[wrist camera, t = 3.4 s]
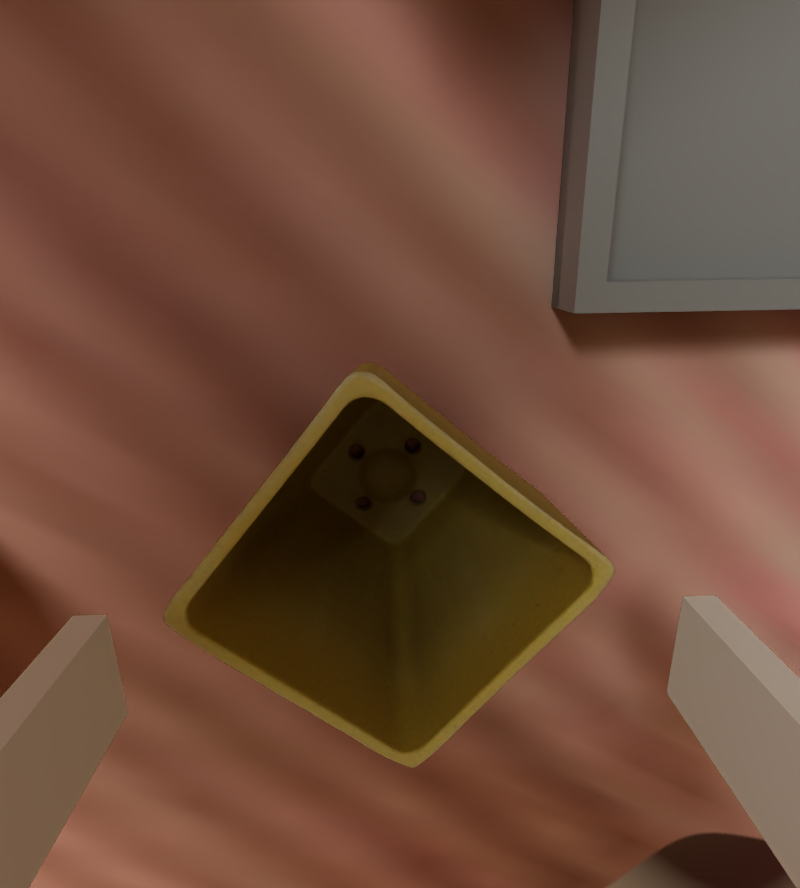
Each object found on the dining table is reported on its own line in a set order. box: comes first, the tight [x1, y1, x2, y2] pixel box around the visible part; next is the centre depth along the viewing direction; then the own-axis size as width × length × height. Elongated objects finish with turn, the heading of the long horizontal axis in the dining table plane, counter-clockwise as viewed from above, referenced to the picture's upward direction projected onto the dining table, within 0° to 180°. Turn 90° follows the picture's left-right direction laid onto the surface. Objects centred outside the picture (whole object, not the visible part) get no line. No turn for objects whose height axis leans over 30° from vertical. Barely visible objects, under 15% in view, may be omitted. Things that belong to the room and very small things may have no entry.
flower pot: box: [163, 362, 615, 768], centre depth 18 cm, size 9×9×9 cm
